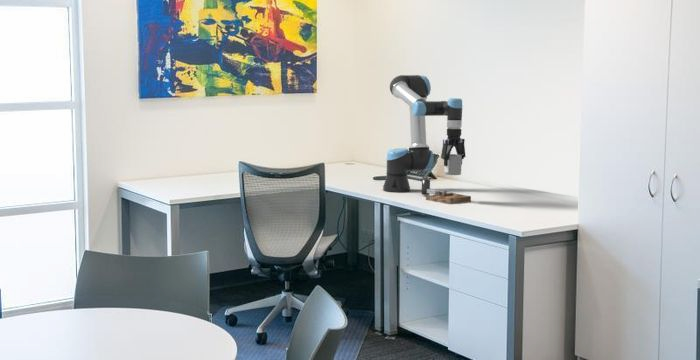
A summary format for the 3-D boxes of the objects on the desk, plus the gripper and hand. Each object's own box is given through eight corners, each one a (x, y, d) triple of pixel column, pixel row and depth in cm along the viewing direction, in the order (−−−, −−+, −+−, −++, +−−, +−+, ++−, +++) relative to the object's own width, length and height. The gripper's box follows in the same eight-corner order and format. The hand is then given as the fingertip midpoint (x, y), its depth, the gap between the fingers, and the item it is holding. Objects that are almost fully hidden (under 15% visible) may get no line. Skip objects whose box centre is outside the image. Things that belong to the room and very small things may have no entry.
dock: (426, 199, 471) (426, 192, 471) (447, 197, 481) (448, 189, 481) (448, 204, 458) (448, 196, 458) (470, 201, 468) (470, 193, 467)
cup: (441, 173, 468) (442, 154, 467) (452, 172, 473) (453, 153, 472) (452, 175, 462) (453, 156, 460) (464, 174, 466) (464, 155, 465)
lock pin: (419, 193, 485) (420, 179, 484) (425, 193, 488) (426, 178, 487) (439, 197, 473) (440, 182, 472) (445, 197, 475) (446, 182, 474)
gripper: (444, 129, 455) (443, 173, 458) (473, 128, 468) (472, 171, 471) (434, 128, 461) (433, 172, 464) (463, 127, 474) (461, 169, 477)
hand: (452, 171), depth 467 cm, fingers closed on cup, 8 cm apart
